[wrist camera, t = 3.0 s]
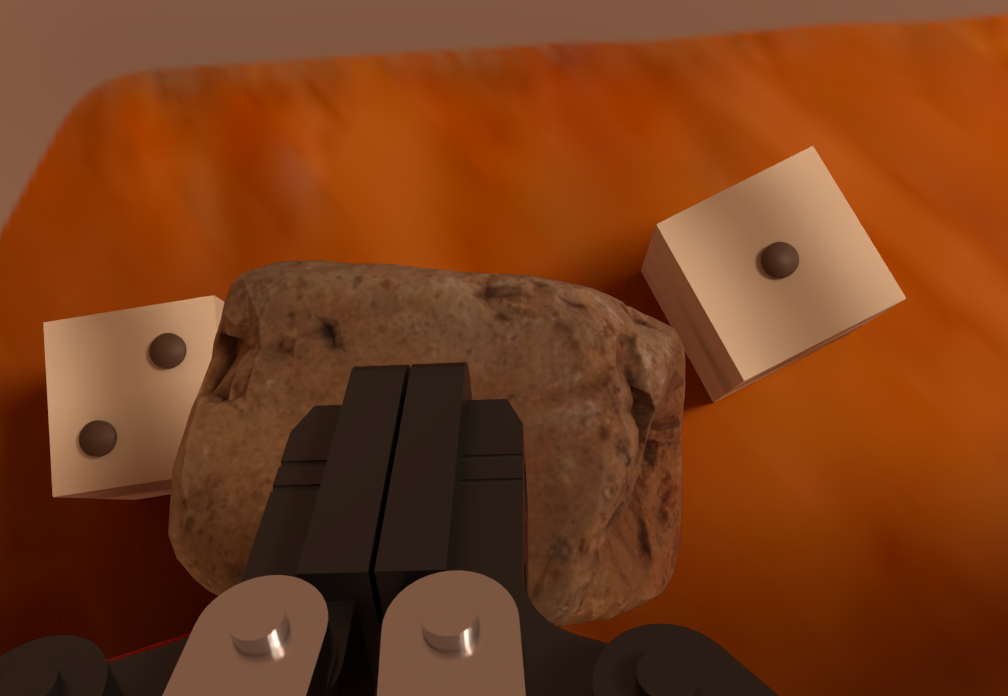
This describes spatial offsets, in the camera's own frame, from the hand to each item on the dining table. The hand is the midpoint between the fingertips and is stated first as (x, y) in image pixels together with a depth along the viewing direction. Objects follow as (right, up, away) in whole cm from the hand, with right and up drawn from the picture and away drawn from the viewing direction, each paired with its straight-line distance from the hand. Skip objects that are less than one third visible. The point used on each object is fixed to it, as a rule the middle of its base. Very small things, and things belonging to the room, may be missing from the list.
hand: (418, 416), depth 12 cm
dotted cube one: (+11, +3, +24) cm, 26 cm away
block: (+1, -4, +23) cm, 24 cm away
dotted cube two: (-11, -2, +24) cm, 27 cm away
